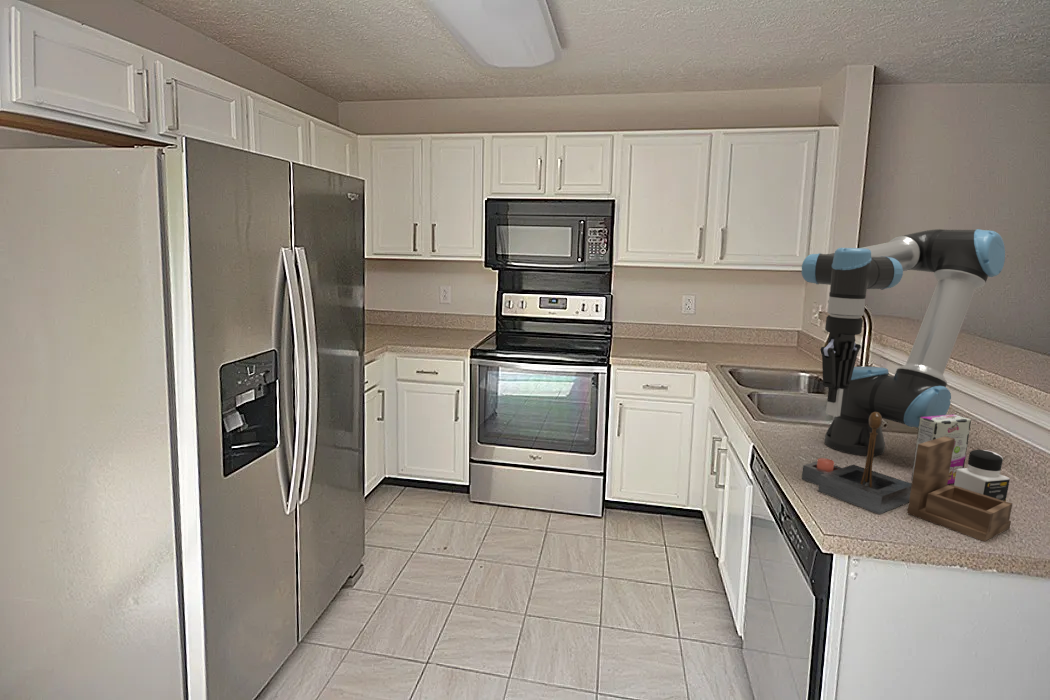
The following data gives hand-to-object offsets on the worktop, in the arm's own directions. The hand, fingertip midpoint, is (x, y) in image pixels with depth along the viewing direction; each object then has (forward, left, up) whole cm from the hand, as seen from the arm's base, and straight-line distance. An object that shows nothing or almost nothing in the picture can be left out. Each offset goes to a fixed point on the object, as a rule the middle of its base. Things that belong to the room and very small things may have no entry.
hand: (832, 414), depth 149 cm
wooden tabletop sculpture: (0, +10, -17) cm, 19 cm away
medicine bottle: (-20, +25, -17) cm, 36 cm away
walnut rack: (-5, +27, -17) cm, 32 cm away
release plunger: (0, 0, -16) cm, 16 cm away
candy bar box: (-25, +14, -17) cm, 33 cm away
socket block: (0, +7, -17) cm, 18 cm away
